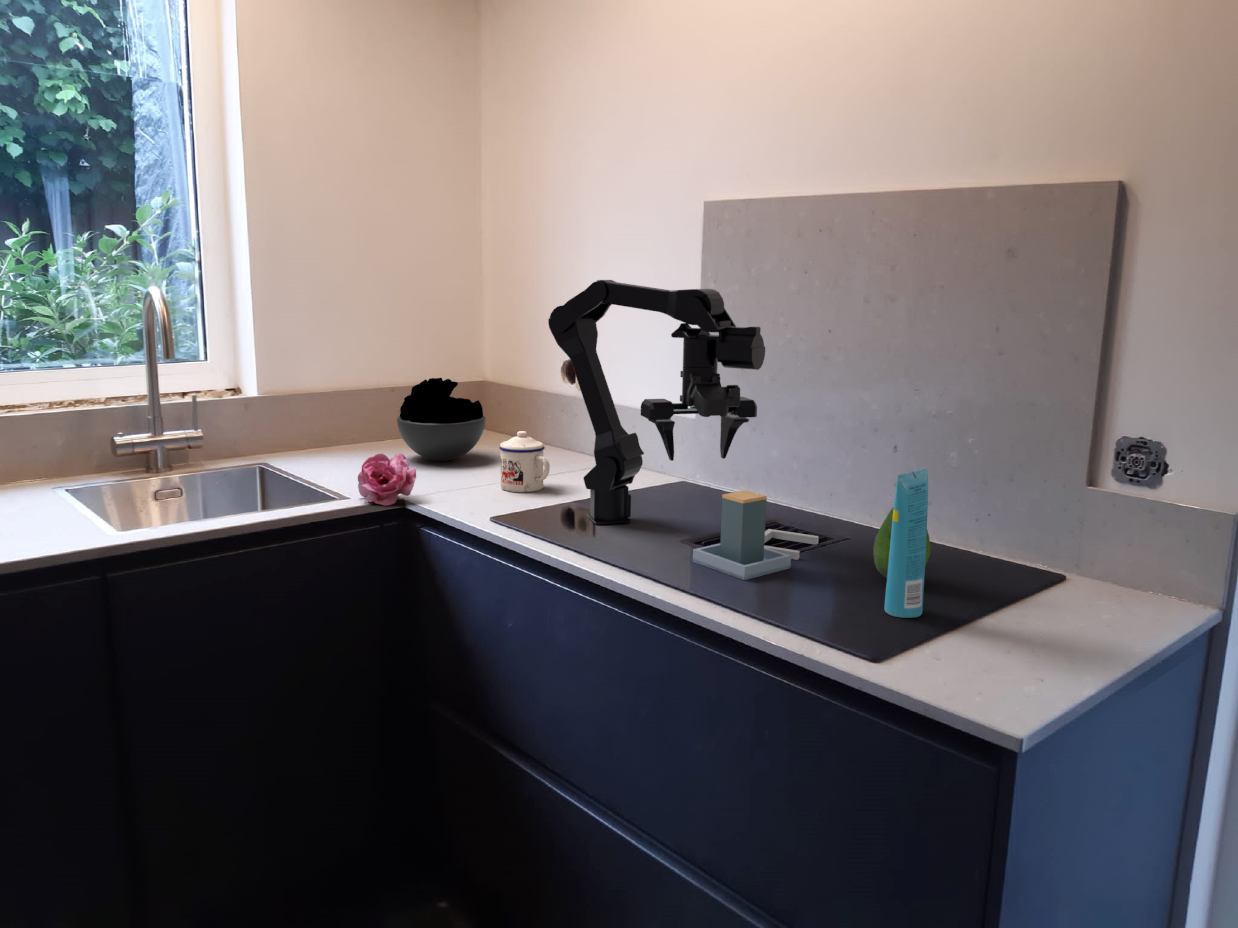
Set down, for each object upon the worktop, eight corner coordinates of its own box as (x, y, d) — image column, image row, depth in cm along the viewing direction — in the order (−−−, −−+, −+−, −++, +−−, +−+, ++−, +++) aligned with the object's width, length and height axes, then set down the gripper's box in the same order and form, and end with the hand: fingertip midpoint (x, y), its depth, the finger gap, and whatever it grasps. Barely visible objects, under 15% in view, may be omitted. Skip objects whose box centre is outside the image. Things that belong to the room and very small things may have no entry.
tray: (692, 561, 148) (693, 549, 147) (738, 551, 154) (738, 539, 153) (744, 580, 139) (744, 567, 139) (790, 568, 145) (791, 555, 145)
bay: (745, 551, 154) (745, 544, 153) (768, 535, 163) (768, 528, 163) (797, 559, 150) (797, 552, 149) (818, 543, 159) (818, 536, 159)
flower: (392, 524, 179) (359, 484, 174) (374, 516, 187) (342, 478, 183) (437, 483, 183) (406, 443, 179) (417, 478, 191) (387, 439, 187)
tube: (897, 601, 132) (908, 464, 128) (931, 609, 128) (943, 469, 125) (873, 615, 126) (884, 472, 122) (908, 624, 123) (920, 478, 119)
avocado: (918, 593, 135) (926, 510, 133) (864, 582, 139) (870, 502, 137) (933, 578, 142) (940, 499, 139) (881, 569, 146) (886, 492, 143)
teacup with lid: (490, 488, 195) (489, 431, 192) (522, 481, 201) (522, 426, 199) (532, 497, 187) (532, 439, 185) (564, 490, 194) (564, 433, 192)
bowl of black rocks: (455, 449, 236) (454, 372, 232) (503, 461, 221) (502, 380, 217) (381, 458, 222) (379, 377, 218) (427, 472, 208) (425, 386, 204)
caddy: (719, 561, 147) (722, 494, 144) (742, 555, 150) (745, 490, 148) (740, 568, 143) (743, 500, 141) (763, 562, 146) (766, 495, 144)
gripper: (661, 371, 147) (659, 471, 151) (772, 370, 152) (768, 466, 155) (640, 365, 158) (638, 458, 161) (745, 363, 163) (742, 453, 166)
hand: (697, 459), depth 161 cm, fingers open, 9 cm apart
